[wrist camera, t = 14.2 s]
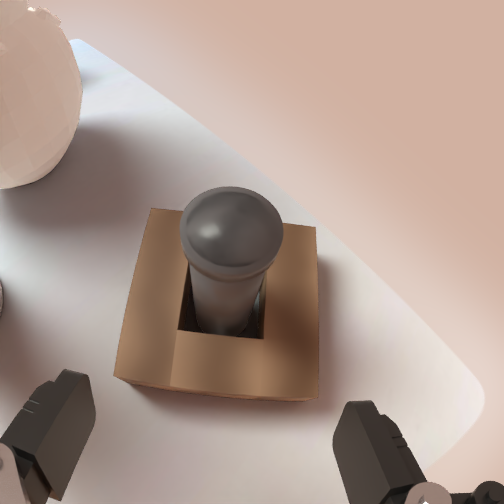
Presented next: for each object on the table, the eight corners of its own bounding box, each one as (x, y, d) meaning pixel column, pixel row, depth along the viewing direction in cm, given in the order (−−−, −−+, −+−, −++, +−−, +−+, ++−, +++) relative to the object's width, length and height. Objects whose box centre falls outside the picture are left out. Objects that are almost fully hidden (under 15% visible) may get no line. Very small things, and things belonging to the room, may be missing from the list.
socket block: (127, 382, 23) (113, 375, 19) (157, 233, 30) (151, 208, 26) (302, 401, 24) (317, 397, 20) (303, 250, 31) (315, 227, 27)
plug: (188, 339, 25) (170, 266, 14) (196, 283, 28) (189, 181, 17) (250, 346, 26) (282, 279, 14) (253, 290, 28) (283, 193, 17)
